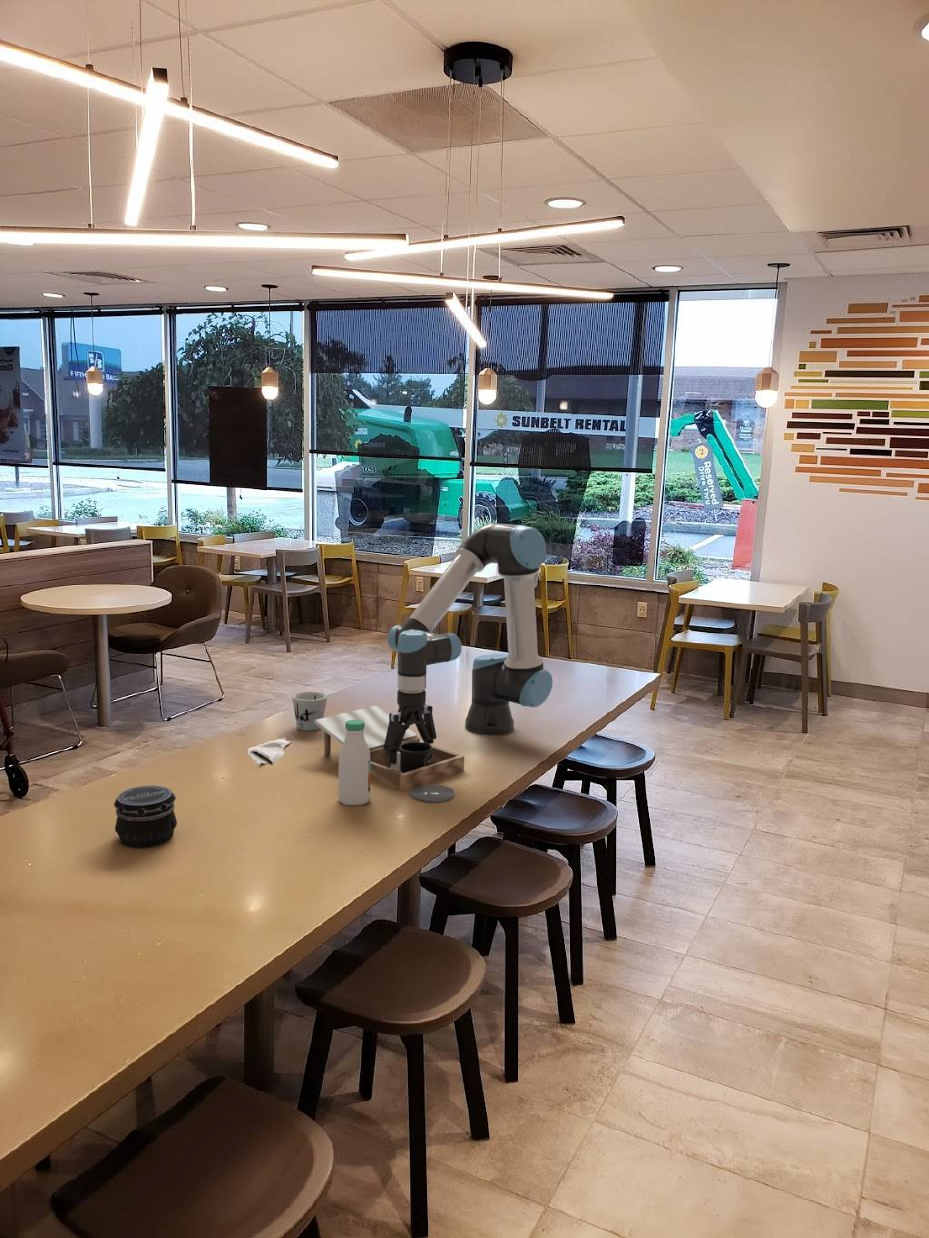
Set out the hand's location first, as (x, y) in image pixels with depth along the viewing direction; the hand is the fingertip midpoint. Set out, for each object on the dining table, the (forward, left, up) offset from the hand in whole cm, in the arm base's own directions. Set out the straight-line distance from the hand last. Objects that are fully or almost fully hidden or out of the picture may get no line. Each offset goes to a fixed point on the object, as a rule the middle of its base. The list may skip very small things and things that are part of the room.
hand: (410, 770), depth 249 cm
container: (+72, -8, 0) cm, 72 cm away
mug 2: (0, 0, 0) cm, 0 cm away
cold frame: (0, -9, 0) cm, 9 cm away
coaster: (+8, +16, 0) cm, 18 cm away
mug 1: (-6, -50, 0) cm, 50 cm away
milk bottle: (+25, +6, 0) cm, 25 cm away
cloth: (+18, -38, -1) cm, 42 cm away
